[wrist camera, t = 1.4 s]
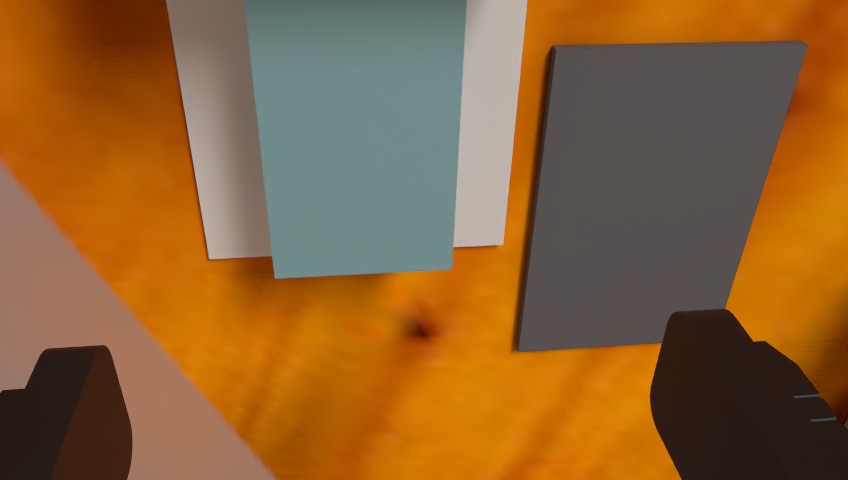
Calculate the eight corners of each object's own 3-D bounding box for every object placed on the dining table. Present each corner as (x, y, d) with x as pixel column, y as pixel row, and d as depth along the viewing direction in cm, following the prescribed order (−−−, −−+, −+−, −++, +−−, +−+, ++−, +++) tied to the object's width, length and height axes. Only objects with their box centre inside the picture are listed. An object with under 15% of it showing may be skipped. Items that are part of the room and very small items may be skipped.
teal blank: (226, -346, 16) (204, -366, 13) (452, -336, 17) (486, -353, 14) (280, 204, 24) (274, 278, 21) (434, 198, 25) (451, 269, 21)
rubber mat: (552, 45, 23) (556, 50, 22) (801, 40, 23) (808, 45, 23) (516, 345, 29) (518, 352, 29) (710, 332, 30) (715, 339, 30)
